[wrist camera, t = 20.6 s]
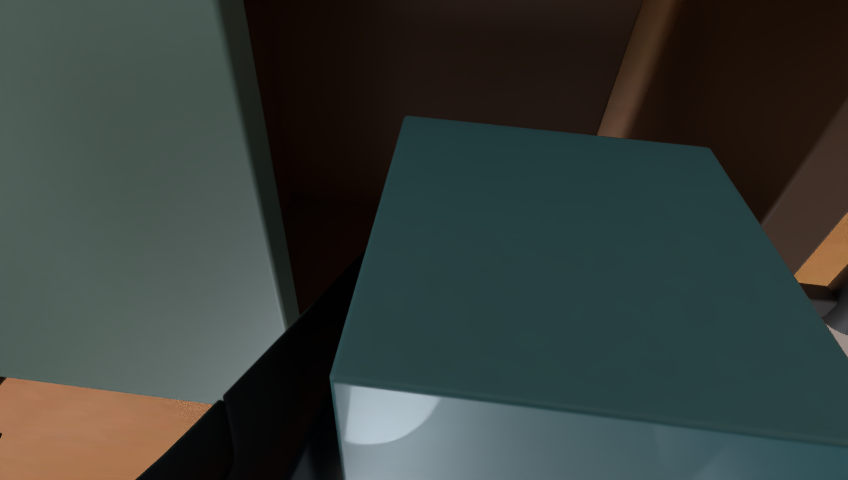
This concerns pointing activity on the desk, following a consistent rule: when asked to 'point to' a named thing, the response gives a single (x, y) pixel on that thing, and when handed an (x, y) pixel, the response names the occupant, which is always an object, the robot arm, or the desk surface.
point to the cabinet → (136, 198)
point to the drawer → (551, 104)
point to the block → (578, 320)
